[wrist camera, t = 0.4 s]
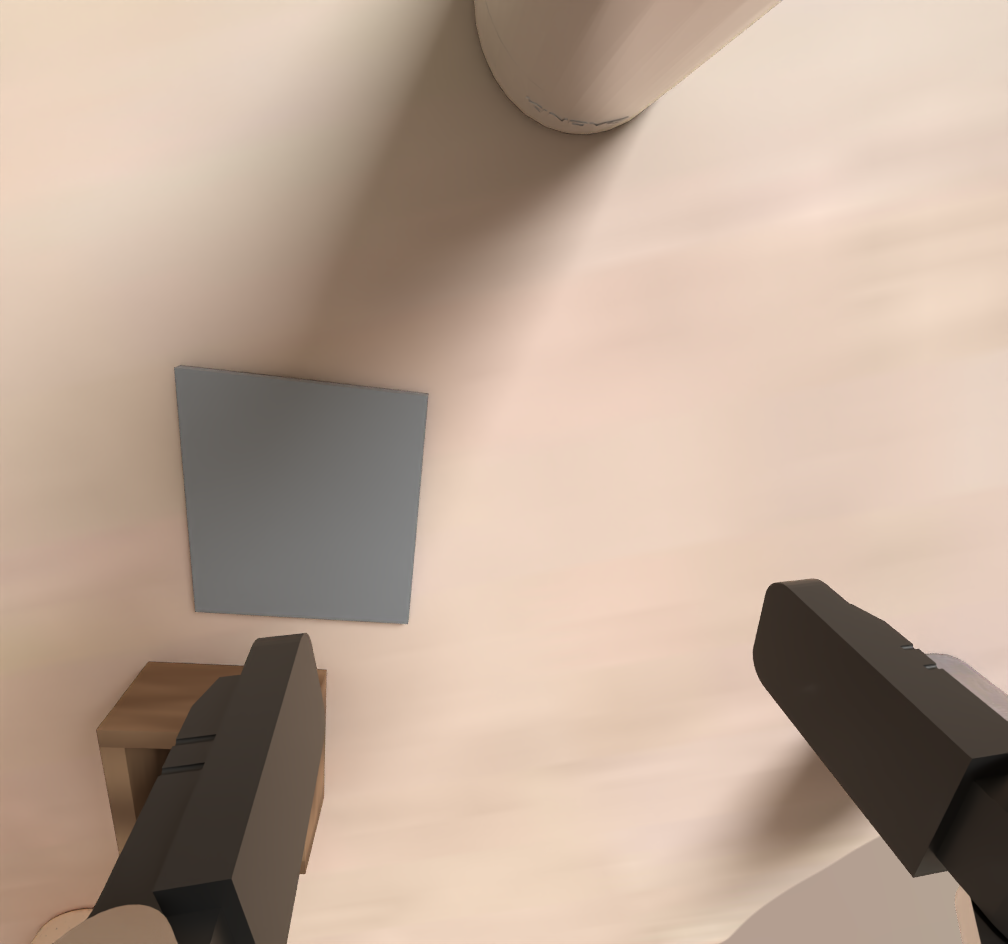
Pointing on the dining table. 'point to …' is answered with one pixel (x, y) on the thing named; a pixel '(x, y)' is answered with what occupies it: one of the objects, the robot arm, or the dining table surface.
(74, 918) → the teacup with lid
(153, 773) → the walnut sleeve
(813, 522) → the dining table surface
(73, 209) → the dining table surface
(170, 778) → the robot arm
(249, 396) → the rubber mat
